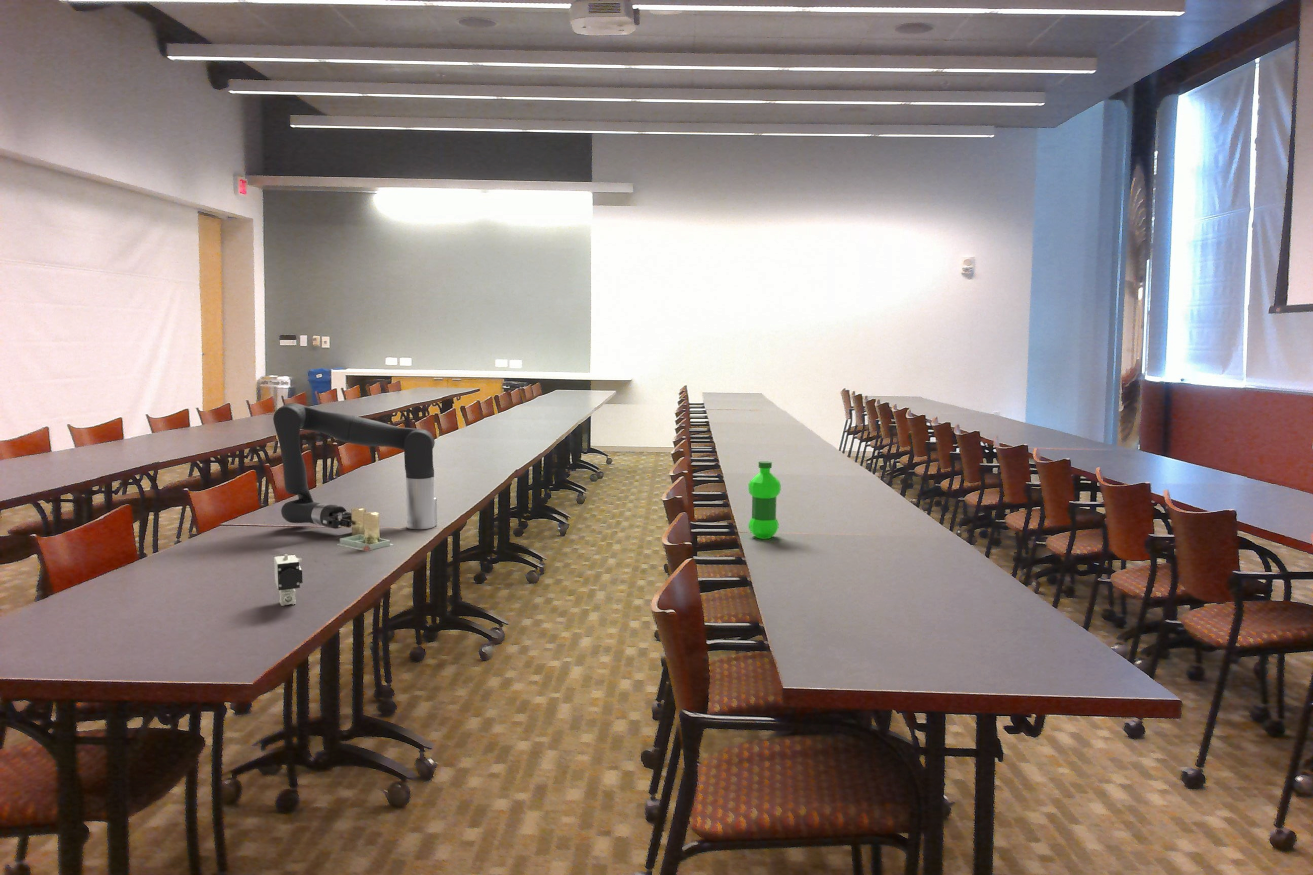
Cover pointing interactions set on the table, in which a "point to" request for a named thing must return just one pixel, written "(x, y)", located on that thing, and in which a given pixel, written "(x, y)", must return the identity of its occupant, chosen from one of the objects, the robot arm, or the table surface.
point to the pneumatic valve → (287, 577)
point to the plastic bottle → (764, 502)
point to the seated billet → (371, 527)
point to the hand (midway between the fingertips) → (361, 521)
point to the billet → (357, 521)
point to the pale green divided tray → (362, 543)
